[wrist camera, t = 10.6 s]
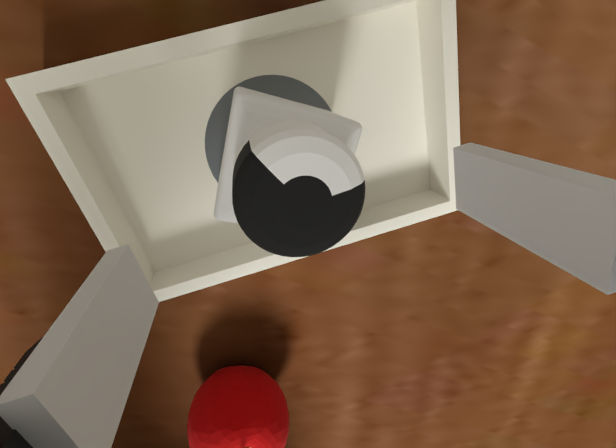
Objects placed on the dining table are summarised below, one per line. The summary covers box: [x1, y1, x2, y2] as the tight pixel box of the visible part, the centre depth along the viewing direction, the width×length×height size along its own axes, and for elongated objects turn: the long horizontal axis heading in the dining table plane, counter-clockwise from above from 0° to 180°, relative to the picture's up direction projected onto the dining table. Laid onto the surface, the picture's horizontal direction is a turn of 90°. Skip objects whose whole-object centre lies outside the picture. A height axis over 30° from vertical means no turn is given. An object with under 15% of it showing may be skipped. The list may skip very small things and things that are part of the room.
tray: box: [5, 0, 460, 302], centre depth 24 cm, size 26×16×4 cm, turn 103°
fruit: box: [187, 365, 289, 448], centre depth 31 cm, size 9×9×10 cm
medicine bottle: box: [214, 87, 365, 257], centre depth 20 cm, size 7×7×12 cm
